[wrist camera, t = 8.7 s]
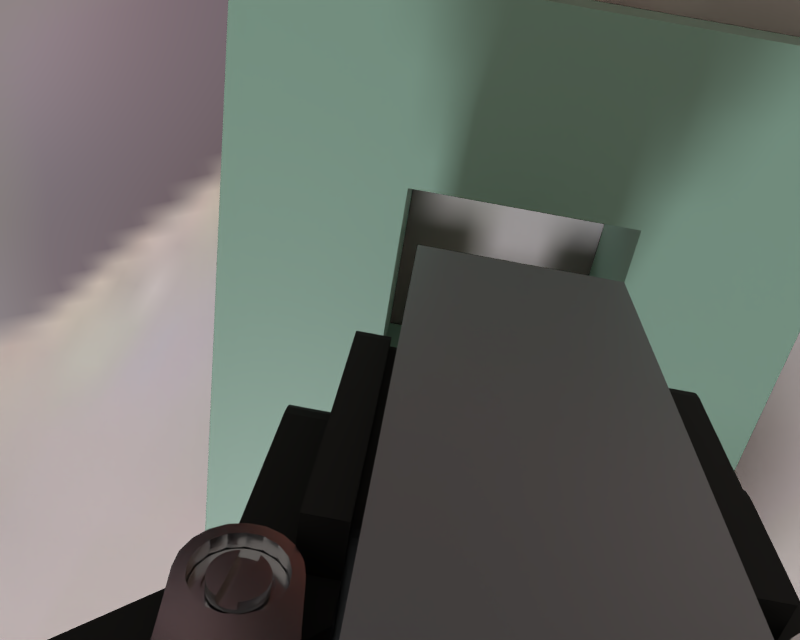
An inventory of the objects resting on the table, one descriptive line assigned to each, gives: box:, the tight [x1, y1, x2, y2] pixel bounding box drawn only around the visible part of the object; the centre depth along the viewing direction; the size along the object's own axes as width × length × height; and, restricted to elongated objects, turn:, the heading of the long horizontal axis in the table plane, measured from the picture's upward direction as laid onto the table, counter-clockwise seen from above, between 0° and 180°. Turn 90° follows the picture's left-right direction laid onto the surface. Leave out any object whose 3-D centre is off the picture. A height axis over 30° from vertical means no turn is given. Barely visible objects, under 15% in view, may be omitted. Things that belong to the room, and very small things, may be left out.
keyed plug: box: [339, 245, 774, 640], centre depth 9 cm, size 4×5×10 cm
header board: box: [205, 0, 800, 531], centre depth 18 cm, size 12×16×3 cm
